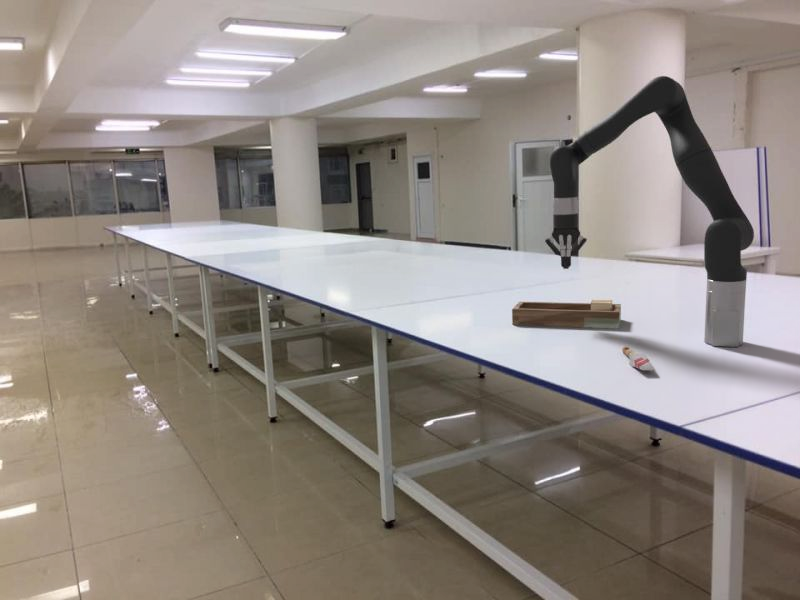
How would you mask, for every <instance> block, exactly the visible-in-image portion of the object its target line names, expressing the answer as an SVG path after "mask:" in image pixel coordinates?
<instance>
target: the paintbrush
mask: <svg viewBox="0 0 800 600" xmlns="http://www.w3.org/2000/svg"><path fill="white" fill-rule="evenodd" d="M621 350H622V353H623V354H625V355H626V356H627V357H628V358H629V364H628V365H629V366H631V367H633V368H636V369H638V370H641V371H655V370H656V369H655V367H654V366H653V364H652V362H651V361H650V359H649V358H648V357H647V355H646V354H645V353H636V352H635V351H633V350H632V349H631V348H630V347H628V346H624V347H622V349H621Z"/></svg>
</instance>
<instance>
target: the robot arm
mask: <svg viewBox="0 0 800 600" xmlns="http://www.w3.org/2000/svg"><path fill="white" fill-rule="evenodd" d="M685 92H686V91H685V90H684V88H683V86H682V85H681V84H680V83H679V82H678V81H677V80H675V79H674V78H672V77H671V76H670V77H669V76H665V75H660V76H657V77H654V78H653V79H651V80H649V82H648V83H646V84H645V85H644V86H643V87H642V88H641V89H639V90H638V91H637V92H636V93H635V94H634V95H632V97H630V98H629V99H628V100H626V102H624V103H623V104H622V105H620V107H618V108H617V109H615V110H614V111H613V112H612V113H610V114H608V115H607V116H606V117H605V118H604V117H603V119H601V120H600V121H598V122H597V123H595V124H593V125H592V126H590V127H589V128H588V129H586V130H584V131H583V132H582V133H581V134H579V136H578V138H577V139H576V140H574V141H573V142H572V143H570V144H568V145H559V146H557V147H555V148H554V149H553V150H552V151H551V154H550V158H549V167H550V173H551V178H552V182H553V205H552V210H553V211H552V216H553V217H552V218H553V219H552V220H553V222H552V223H553V224H552V225H553V227H552V228H553V230H552V233H551V235H550V236H549V237H548V238H545V243H546V245H547V246H548V247H549V248H550V250H551V251H552V252H553V253H554V254H555V255H556V256H560V265H561V268H563V270H566V269H567V270H569V268H570V267H571V266H572V256H574V255H577V254H578V252H579V251H580V250H581V248H582V247H583V246H584V245H585V243H586V242H587V241H588V238H587V237H584V236H583V235H581V232H580V229H579V227H580V226H579V221H580V220H579V211H580V209H579V199H578V181H577V179H576V178H575V176H574V171H573V170H574V168H577V167H578V166H580V165H581V164H582V163H583V162H585V161H586V160H588V159H589V158H590V157H591V156H592V155H593V154H596V153H597V152H598V151H601V150H602V149H604V148H606V147H608V146H609V145H610V144H612V143H613V142H614V141H616V140H617V139H618V138H619V137H620V136H621V135H622V134H623V133H624V132H625V131H627V129H628V128H629V127H630V126H632V125H633V124H634V123H636V122H637V121H638V120H640V119H642V118H644V117H646V116H648V115H650V114H653V113H655V114H656V115H657V116H658V118H659V119H660V121H661V123H662V125H663V126H664V128H665V130H666V132H667V134H668V136H669V141H670V146H671V152H672V157H673V160H674V162H675V165H676V168H677V170H678V172H679V175H680V176H681V179H682V180H683V183H685V185H686V186H687V187H688V189H689V190H690V191H691V192H692V193H693V194H694V195H695V196H696V197H697V198H698V199H699V200H700V201H701V202H702V203H703V205H704V206H705V207H706V209H707V210H708V212H709V214H710V217H711V218H712V220H713V221H712V222H711V223H709V225H708V226H707V228H706V230H705V234H704V242H703V243H704V246H703V249H704V250H703V251H704V253H703V254H704V261H703V262H704V268H705V271H706V291H705V293H706V295H705V316H704V317H705V318H704V337H703V339H704V340H703V341H704V342H705V343H706V344H708V345H711V346H713V347H732V348H739V346H741V345H743V343H744V331H745V330H744V329H745V310H746V308H745V307H746V295H747V294H746V292H747V279H748V278H747V277H748V276H747V274H748V273H747V272H748V271H747V269H746V268H745V267H744V266H743V265H742V262H741V261H742V260H741V259H742V255H741V254H742V253H741V252H743V251H745V250H747V249H748V248H750V246H751V245H752V244H753V241H754V238H755V233H754V232H755V231H754V227H753V225H752V223H751V222H750V220H749V218H748V217H747V215H746V214H745V212H744V211H743V209H742V207H741V206H740V205H739V203H738V201H737V199H736V197H735V195H733V192H732V189H731V187H730V186H729V183H728V181H727V179H726V177H725V175H724V173H723V171H722V169H721V165H720V164H719V162H718V160H717V158H716V156H715V153H714V152H713V149H712V146H710V144H709V142H708V140H707V139H706V137H705V135H704V134H703V132H702V130H701V129H700V126H699V125H698V124H697V122H696V120H695V118H694V115H693V113H692V110H691V107H690V104H689V101H688V99H687V95H686V93H685ZM577 240H578V241H577ZM555 242H556V243H557V245H558V246H559V248H558V247H557V246H556V245H555V244H554V243H555ZM576 242H578V244H577V246H576V247H575V248H574V249H573V246H574V244H575V243H576ZM572 249H573V250H572Z"/></svg>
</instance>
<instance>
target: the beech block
mask: <svg viewBox="0 0 800 600" xmlns="http://www.w3.org/2000/svg"><path fill="white" fill-rule="evenodd" d="M590 303H591V310H592V311H612V304H613V299H599V298H598V299H591V301H590Z"/></svg>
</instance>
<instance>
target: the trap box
mask: <svg viewBox="0 0 800 600" xmlns="http://www.w3.org/2000/svg"><path fill="white" fill-rule="evenodd" d="M621 310H622V304H621V303H612V311H592V310H591V302H588V303H587V302H585V303H584V302H553V301H552V302H551V301H550V302H549V301H548V302H547V301H545V302H544V301H519V302H518V303H516V305H514V307H513V308H512V309H511V313H512V314H511V315H512V316H511V318H512V319H511V320H512V321H511V323H512V325H514V326H517V325H518V326H541V327H542V326H544V327H564V326H565V327H567V326H568V328H570V327H571V328H572V327H573V328H589V327H591V328H590V329H592V328H595V329H617V330H618V329H620V324H621V321H622V320H621V318H622V316H621V315H622V312H621ZM565 327H564V328H565Z"/></svg>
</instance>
